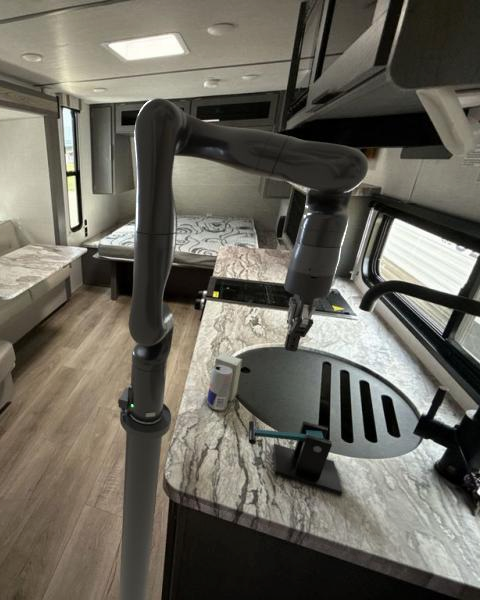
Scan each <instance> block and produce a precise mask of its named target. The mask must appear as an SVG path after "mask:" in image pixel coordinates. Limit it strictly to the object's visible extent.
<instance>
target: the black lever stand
mask: <svg viewBox="0 0 480 600" xmlns="http://www.w3.org/2000/svg"><path fill="white" fill-rule="evenodd" d="M306 430H313V431H322V434H323V438H324V439H322V438H319V437H315V436H311V435H308V434H306ZM328 430H329V429H328V427H327V426H324V425H320V424H316V423H313V422H309V421H305V420H303V421H302V424H301V428H300V431H299V434H306V436H305V439H304V441H297V440H296V443H295V447H294V448H290V447H287V446H284V445H280V444H277V443H273V447H272V449H273V462H274V475H275V476H278V477H282V478H284V479H287V480H290V481H293V482H296V483H298V484H303V485H306V486H308V487H311V488H315V489H318V490H321V491H324V492H327V493H330V494H333V495H336V496H340V497H341V496H342V495H343V488H342V485H341V481H340V479H339V475H338V472H337V468H336V465H335V461H334V460H331V459H328V457H329V455H330V451H331V448H332V446H333V443H332V440H329V439H326V436H327V435H328Z"/></svg>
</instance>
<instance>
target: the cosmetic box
mask: <svg viewBox="0 0 480 600" xmlns="http://www.w3.org/2000/svg"><path fill="white" fill-rule="evenodd" d="M242 363H243V359H242V358H239V357H236V356H233V355H230V354H228V353H224V352H221V353H219V354H218V356H216V357H215V362H214V365H215V364H225V365H228V366H229V367H231V368H232V372H233V376H232V381H231V386H230V391H229V396H228V402H232V401H233V400H234V399H235V397H236V396H237V392H238V387H239V382H240V381H239V380H240V375H241V368H242Z"/></svg>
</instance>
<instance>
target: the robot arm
mask: <svg viewBox="0 0 480 600" xmlns="http://www.w3.org/2000/svg"><path fill="white" fill-rule="evenodd" d="M134 149H135V165H136V167H135V168H136V192H135V193H136V194H135V217H134V233H133V235H134V236H133V238H134V240H133V275H132V276H133V278H132V280H133V281H132V283H133V284H132V295H131V303H130V310H129V315H128V316H129V317H128V331H129V334H130V336H131V338H132V340H133V341H134V342H135V346H134V347H133V349H132V352H131V368H130V384H129V385H128V387H125V388H124V390H123V392H122V393H121V395H119V398H118V400H117V404H118V408H119V409H120V410H121V409H122V410H123V411H124V410H125V409H126V410H127V416H129V417H131V419H132V420H133V421H134V422H136V423H138V424H141V425H146V426H150V425H154V424H157V423H158V422H160V420H161V419H162V415H163V403H164V400H165V399H164V398H165V390H166V389H165V388H166V377H167V370H168V359H169V356H170V353H171V349H172V344H173V335H174V327H175V318H174V313H173V311H172V309H171V308H170V307H169V305H168V304H167V303H165V302H164V301H163V299H164V292H165V288H166V285H167V281H168V279H169V275H170V273H171V270H172V267H173V262H174V259H175V254H176V248H177V237H178V214H177V207H176V201H175V195H174V189H173V174H174V173H173V171H174V163H175V157H189V158H196V159H201V160H206V161H210V162H214V163H217V164H220V165H222V166H226V167H228V168H231V169H234V170H237V171H240V172H243V173H246V174H249V175H254V176H257V177H262V178H266V179H270V180H274V181H279V182H288V183H291V184H294V185H297V186H300V187H303V188H307V190H306V198H305V203H304V205H305V206H304V211H303V214H302V216H301V219H300V223H299V227H298V231H297V234H296V235H297V236H296V239H295V243H294V246H293V249H292V251H291V254H290V258H289V262H288V267H287V270H286V275H285V279H284V284H283V288H284V290H285V291H286V292H288V293H290V294H292V295H293V296H291V297H290V298H289V301H288V311H287V316H286V317H287V320H286V324H287V326H286V330H287V332H286V336H285V340H284V346H283V347H284V350H286V351H290V352H293V353H294V352H295V353H296V352H297V351H298V348H299V345H300V340H301V338H305V337H306V335H308V332H309V331H310V330H311V328H312V326H313V325H314V324H315V323H314V319H312V317H313V315H314V314H315V312H316V309H317V305H316V304H314V302H315V300H316V299H324V298H326V297H328V296H329V295H330V293H331V289H332V287H333V282H334V280H335V276H336V273H337V269H338V266H339V262H340V259H341V251H342V246H343V243H344V240H345V236H346V233H347V229H348V225H349V213H348V210H349V206H350V203H351V199H352V195H353V192H354V190H355V189H356V188H357V187H358V186H359V185H361V183H363V181H364V180H365V179H366V176H367V174H368V171H369V161H368V158H367V156H366V155H365V154H364V153H363V152H362V151H361V150H359V149H358V148H355V147H352V146H347V145H342V144H336V143H330V142H321V141H313V140H304V139H300V138H298V137H295V136H291V135H286V134H282V133H278V132H273V131H267V130H262V129H254V128H246V127H237V126H236V127H234V126H226V125H219V124H215V123H211V122H208V121H204V120H203V119H200V118H197V117H195V116H193V115H190V114H188V113H186V112H184V110H183V109H181V108H180V107H179V106H178V105H176V104H175V103H173V102H172V101H170V100H169V99H166V98H160V97H158V98H157V97H155V98H152V99H150V100H148V101H147V102H146V103H145V104H144V105H143V106H142V107H141V109H139V113H138V114H137V116H136V120H135V124H134Z"/></svg>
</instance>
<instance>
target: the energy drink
mask: <svg viewBox="0 0 480 600" xmlns="http://www.w3.org/2000/svg"><path fill="white" fill-rule="evenodd" d="M232 376H233V372H232V368H231V367H229V366H228V365H225V364H215V363H214V365H213V366H212V369H211V373H210V380H209V385H208V391H207V397H206V405H208V407H209V408H210V409H212V410H214V411H224V410H226V409H227V407H228V402H229V400H228V396H229V391H230V386H231V381H232Z"/></svg>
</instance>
